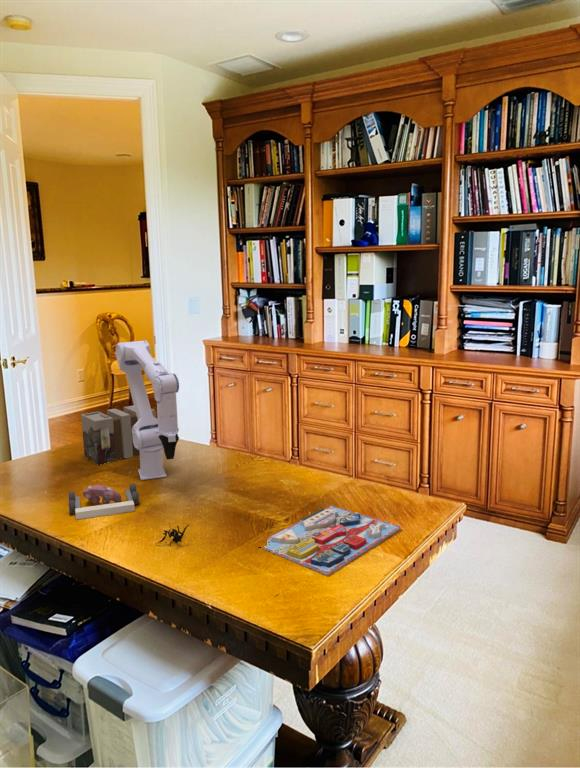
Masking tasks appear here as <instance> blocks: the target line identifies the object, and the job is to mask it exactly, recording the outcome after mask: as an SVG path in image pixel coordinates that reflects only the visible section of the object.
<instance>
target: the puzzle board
mask: <svg viewBox="0 0 580 768" xmlns="http://www.w3.org/2000/svg"><path fill="white" fill-rule="evenodd" d="M299 520H300V521H298V522H296V523H294V524H292V525H290V526H288V527H286V528H283V529H280V530H279V531H276V532H275V533H273V534H271V535H270V536H268V537H267V538H268V539H267V538H266V539H267V546H264V547H265V548H263V549H265V550H264V551H266V550H267V551H266V552H268V551H270V552H269V553H271V552H272V553H271V554H273V553H274V555H275V554H276V555H275V556H279V558H283V559H285V560H287V561H290V562H293V563H294V564H297V565H299V566H302V567H304V568H307V569H310V570H312V571H314V572H317V573H318V574H321V575H324V576H326V577H330V576H331V575H333V574H335V573H336V572H337V571H339V570H341V569H342V568H344V567H345V566H347V565H348V564H350V563H352V562H354V561H355V560H356V559H358V558H360V557H361V556H363V555H364V554H365V553H368V552H369V551H371V550H372V549H374V548H375V547H378V546H379V545H380V544H382V543H383V542H385V541H386V540H388V539H389V538H391V537H393V536H394V535H396V534H397V533H399V532H400V531H401V529H402V526H401V525H399V524H395V523H392V522H388V521H386V520H382V519H379V518H375V517H372V516H369V515H364V514H362V513H360V512H358V511H357V512H355V511H352V510H349V509H344V508H341V507H337V506H334V505H329V506H326V507H324V508H321V509H318V510H317V511H315V512H313V513H311V514H309V515H307V516H305V517H303V518H302V519H299ZM268 542H270V543H268ZM269 544H270V545H269ZM263 549H262V550H263Z"/></svg>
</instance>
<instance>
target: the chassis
mask: <svg viewBox="0 0 580 768" xmlns="http://www.w3.org/2000/svg"><path fill="white" fill-rule="evenodd" d="M125 496H127V497H126V501H120V502H112V503H111V502H110V503H109V504H104V503H103V504H98V505H93V506H92V505H91V506H85V507H84V506H83V507H81V500H80V495H79V496H76V492H75V491H68V511H69V512H68V513H69V515H70V514H75V521H76V520H84V519H90V518H97V517H104V516H109V515H110V516H111V515H116V514H124V513H130V512H136V511H135V510H136V509H135V505H139V504H140V496H139V492H138V491H137V484H136V483H130V484H129V489H125ZM127 500H128V501H127Z"/></svg>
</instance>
